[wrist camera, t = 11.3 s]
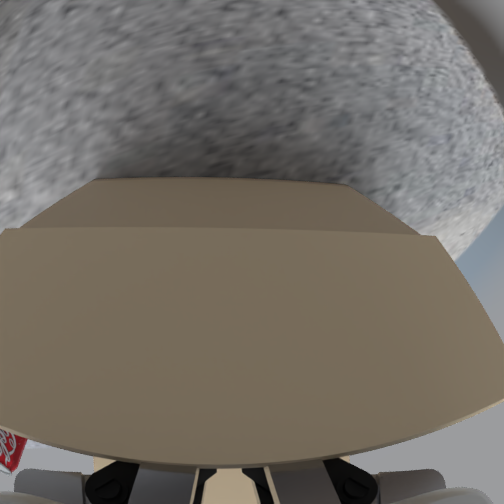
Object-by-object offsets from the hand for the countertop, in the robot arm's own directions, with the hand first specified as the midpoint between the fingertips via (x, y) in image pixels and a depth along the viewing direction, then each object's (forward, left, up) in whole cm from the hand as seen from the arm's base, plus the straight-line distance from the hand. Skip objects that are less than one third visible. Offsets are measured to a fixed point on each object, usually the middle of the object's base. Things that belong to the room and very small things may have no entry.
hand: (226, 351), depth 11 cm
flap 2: (-2, 0, +1) cm, 3 cm away
